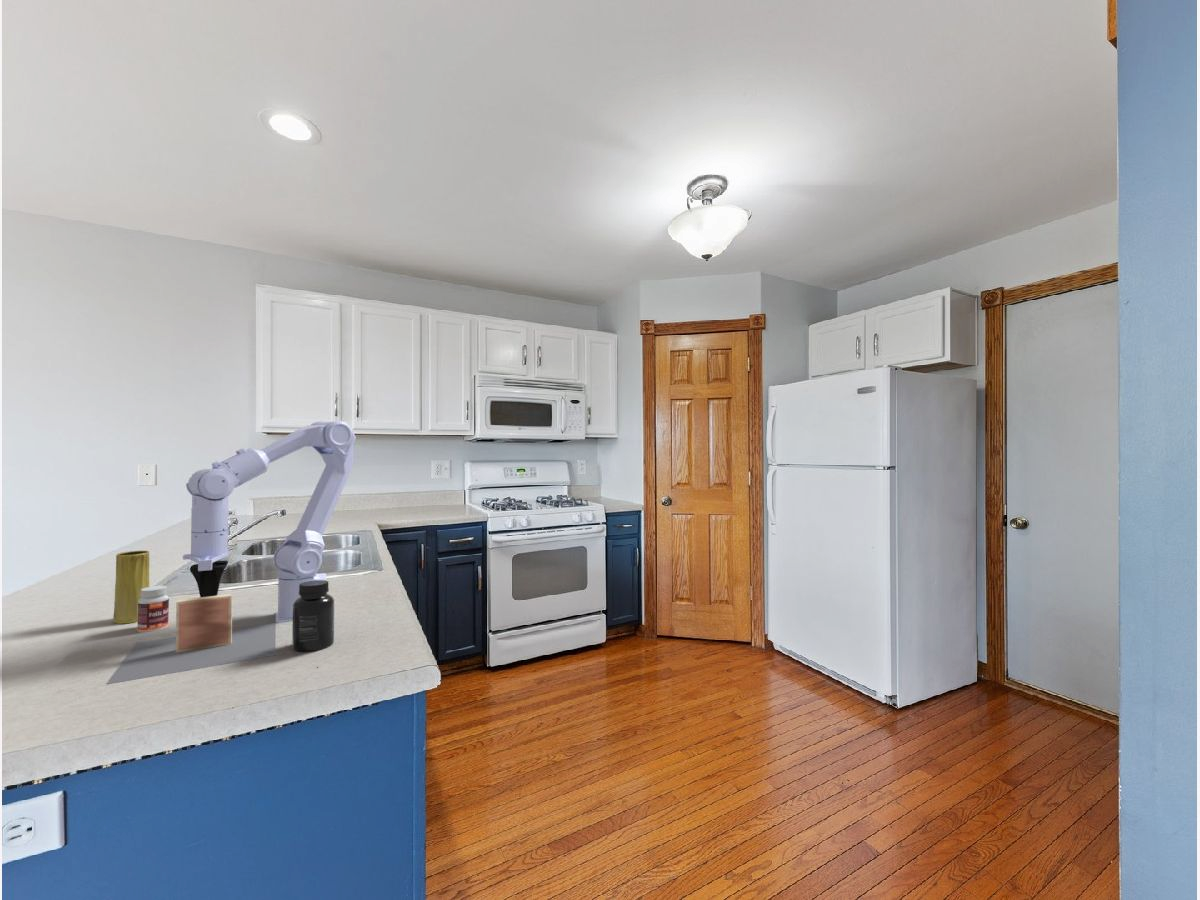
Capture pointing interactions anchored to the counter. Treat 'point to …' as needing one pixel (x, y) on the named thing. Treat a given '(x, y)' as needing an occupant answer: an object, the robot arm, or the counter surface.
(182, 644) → the tile
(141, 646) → the mat
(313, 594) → the supplement bottle
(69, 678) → the counter surface
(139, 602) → the pill bottle
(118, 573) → the vase
